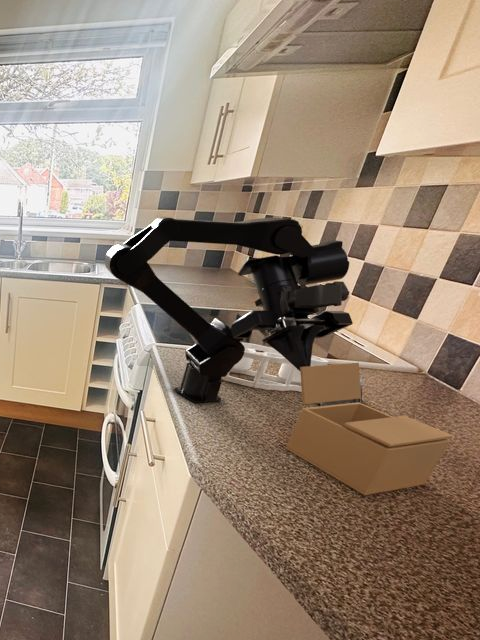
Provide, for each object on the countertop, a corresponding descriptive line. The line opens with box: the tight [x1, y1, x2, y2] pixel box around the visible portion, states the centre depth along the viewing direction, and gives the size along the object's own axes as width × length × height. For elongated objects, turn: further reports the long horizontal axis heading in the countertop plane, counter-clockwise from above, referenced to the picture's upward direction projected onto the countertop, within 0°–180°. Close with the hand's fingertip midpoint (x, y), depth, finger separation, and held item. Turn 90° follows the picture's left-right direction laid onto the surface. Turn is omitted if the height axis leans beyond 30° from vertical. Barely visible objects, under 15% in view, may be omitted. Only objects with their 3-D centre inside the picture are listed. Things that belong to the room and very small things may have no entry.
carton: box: [285, 402, 454, 496], centre depth 63 cm, size 12×12×8 cm
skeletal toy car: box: [221, 341, 330, 393], centre depth 93 cm, size 20×11×7 cm, turn 54°
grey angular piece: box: [316, 377, 364, 406], centre depth 84 cm, size 10×7×12 cm
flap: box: [300, 362, 361, 405], centre depth 66 cm, size 6×12×1 cm
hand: (305, 371), depth 69 cm, fingers closed
